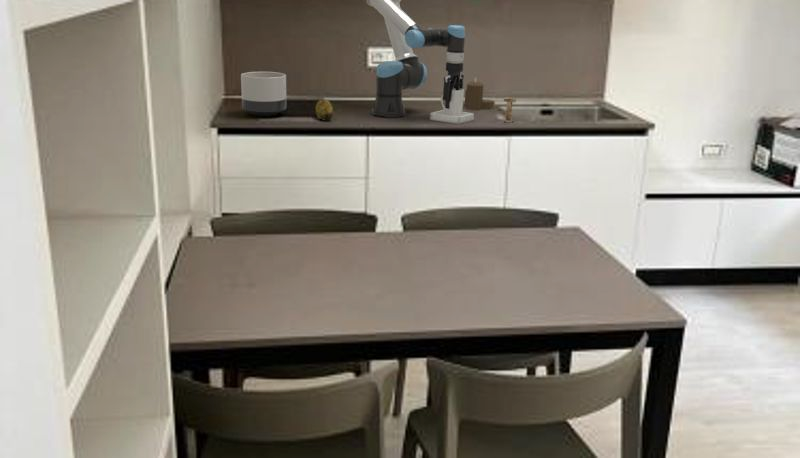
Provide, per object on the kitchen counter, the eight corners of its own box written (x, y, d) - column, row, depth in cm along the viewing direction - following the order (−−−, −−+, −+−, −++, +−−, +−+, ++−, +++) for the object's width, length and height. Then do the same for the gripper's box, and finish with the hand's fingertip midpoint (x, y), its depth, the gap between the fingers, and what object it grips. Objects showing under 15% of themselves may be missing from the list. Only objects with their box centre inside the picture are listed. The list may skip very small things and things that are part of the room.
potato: (312, 121, 338) (312, 102, 335) (316, 116, 350) (316, 98, 347) (332, 122, 337) (332, 103, 335) (335, 116, 350) (335, 98, 347)
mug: (463, 115, 352) (465, 88, 348) (461, 118, 346) (463, 90, 342) (441, 114, 354) (442, 87, 350) (438, 116, 348) (440, 89, 344)
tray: (429, 119, 350) (430, 113, 349) (444, 115, 360) (444, 109, 359) (459, 124, 342) (459, 117, 341) (473, 120, 352) (473, 113, 351)
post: (501, 121, 351) (502, 98, 348) (505, 120, 354) (506, 97, 351) (511, 123, 348) (513, 99, 345) (515, 121, 352) (517, 98, 348)
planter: (273, 120, 336) (273, 78, 331) (234, 116, 342) (232, 75, 337) (294, 113, 354) (293, 73, 348) (255, 109, 360) (254, 70, 354)
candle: (483, 111, 374) (485, 79, 369) (457, 108, 380) (459, 77, 375) (494, 107, 385) (497, 77, 380) (469, 104, 391) (471, 74, 387)
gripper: (451, 64, 333) (448, 118, 341) (473, 61, 349) (469, 112, 356) (435, 63, 337) (433, 116, 344) (458, 59, 352) (455, 110, 360)
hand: (451, 114), depth 350 cm, fingers closed on mug, 6 cm apart
